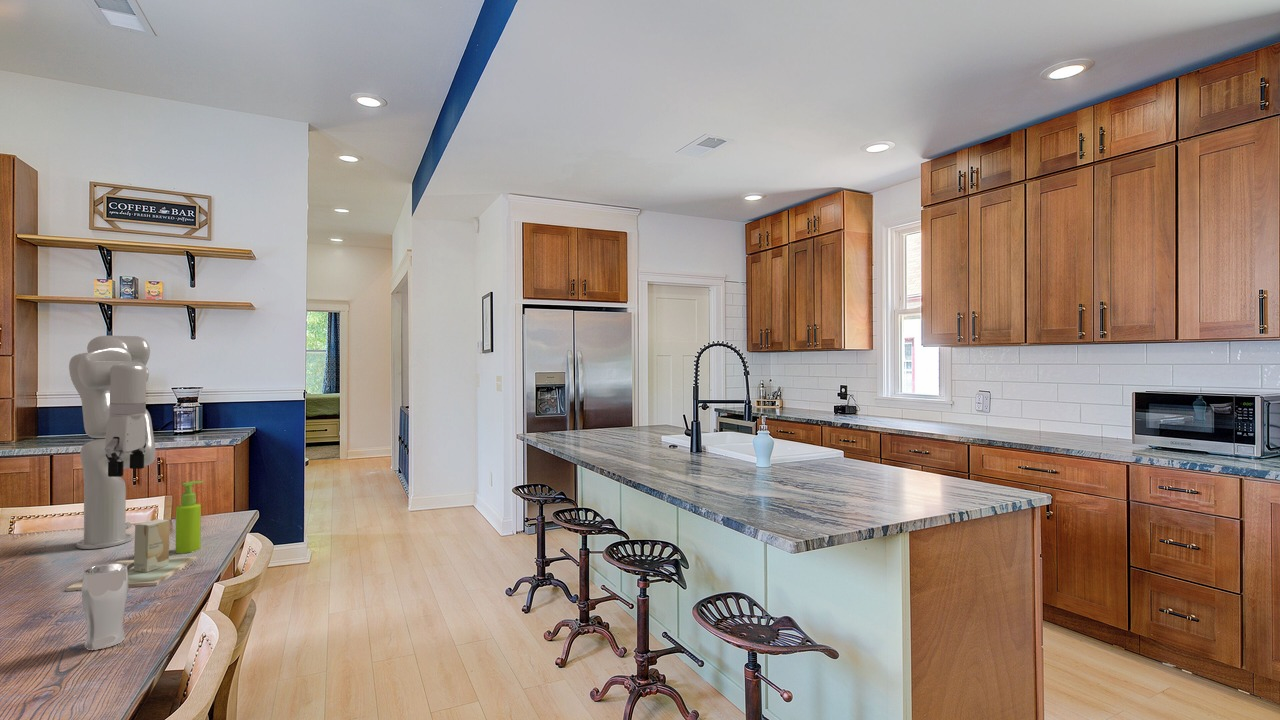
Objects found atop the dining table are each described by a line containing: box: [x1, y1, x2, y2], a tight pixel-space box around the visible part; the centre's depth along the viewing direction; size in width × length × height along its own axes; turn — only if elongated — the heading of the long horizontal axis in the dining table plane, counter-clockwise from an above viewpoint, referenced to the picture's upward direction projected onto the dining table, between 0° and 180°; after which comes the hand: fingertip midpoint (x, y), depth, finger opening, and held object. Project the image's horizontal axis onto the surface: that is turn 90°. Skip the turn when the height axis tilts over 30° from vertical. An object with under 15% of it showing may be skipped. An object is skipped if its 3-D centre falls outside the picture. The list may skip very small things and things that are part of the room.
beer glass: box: [81, 562, 129, 649], centre depth 120 cm, size 7×7×15 cm
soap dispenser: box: [175, 480, 205, 554], centre depth 179 cm, size 6×7×20 cm
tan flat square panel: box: [65, 556, 197, 592], centre depth 159 cm, size 20×19×1 cm
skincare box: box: [133, 518, 171, 572], centre depth 161 cm, size 6×4×12 cm
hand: (126, 472), depth 165 cm, fingers open, 9 cm apart
